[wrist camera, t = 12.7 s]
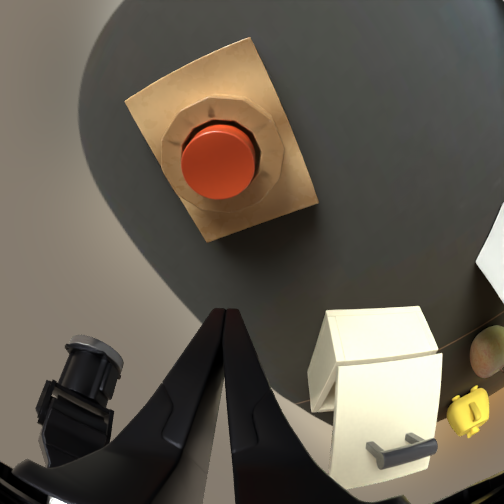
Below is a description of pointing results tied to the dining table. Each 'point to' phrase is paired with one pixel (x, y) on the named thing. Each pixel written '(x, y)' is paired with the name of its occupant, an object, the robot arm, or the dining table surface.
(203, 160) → the switch button
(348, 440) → the lid
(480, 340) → the fruit
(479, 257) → the milk carton
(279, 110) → the switch base
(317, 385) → the box
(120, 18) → the dining table surface
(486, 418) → the teapot
